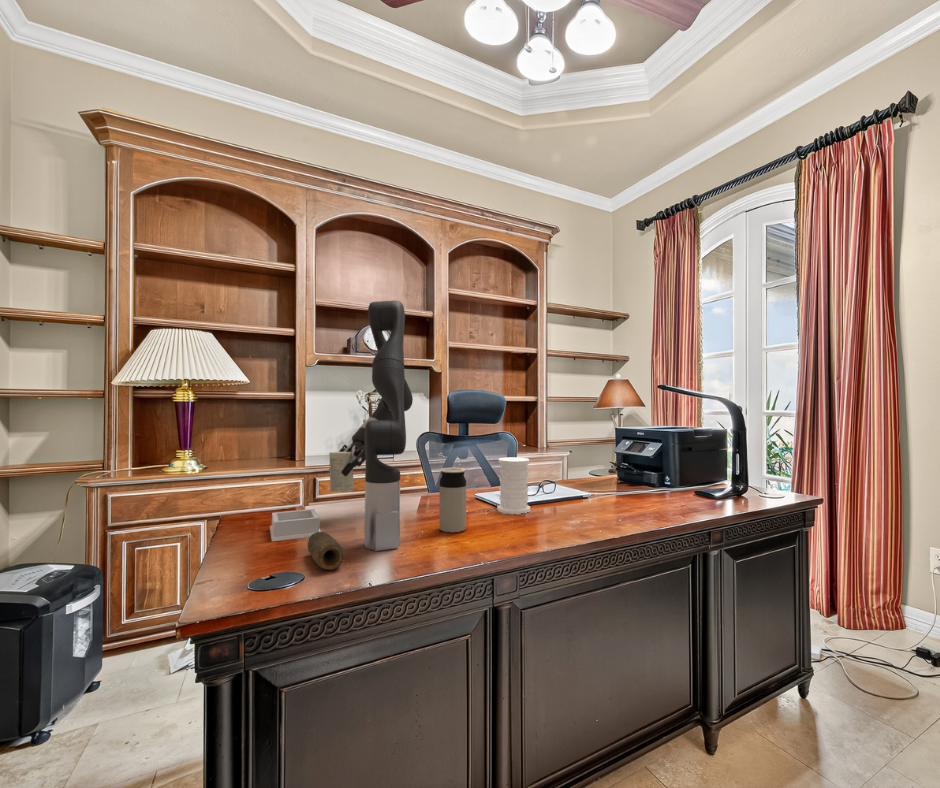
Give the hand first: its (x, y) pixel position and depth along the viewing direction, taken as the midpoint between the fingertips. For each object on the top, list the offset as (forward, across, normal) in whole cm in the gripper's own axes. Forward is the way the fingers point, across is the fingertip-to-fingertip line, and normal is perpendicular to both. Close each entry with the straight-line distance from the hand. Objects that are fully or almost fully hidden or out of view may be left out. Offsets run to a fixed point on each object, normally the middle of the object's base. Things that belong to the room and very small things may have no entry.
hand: (337, 473), depth 145 cm
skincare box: (+3, 0, +5) cm, 6 cm away
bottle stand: (+21, +1, +1) cm, 21 cm away
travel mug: (-4, +30, +26) cm, 40 cm away
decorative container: (-26, +28, +49) cm, 62 cm away
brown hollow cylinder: (+25, +29, -2) cm, 39 cm away
